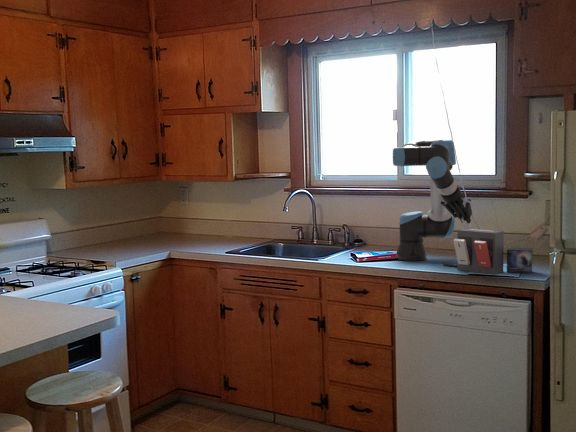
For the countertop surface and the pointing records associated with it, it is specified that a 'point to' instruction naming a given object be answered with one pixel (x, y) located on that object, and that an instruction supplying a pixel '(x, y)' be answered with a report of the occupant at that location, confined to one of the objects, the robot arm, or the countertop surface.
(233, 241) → the countertop surface
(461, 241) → the rocker ivory
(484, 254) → the rocker red
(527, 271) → the small box
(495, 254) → the power unit
